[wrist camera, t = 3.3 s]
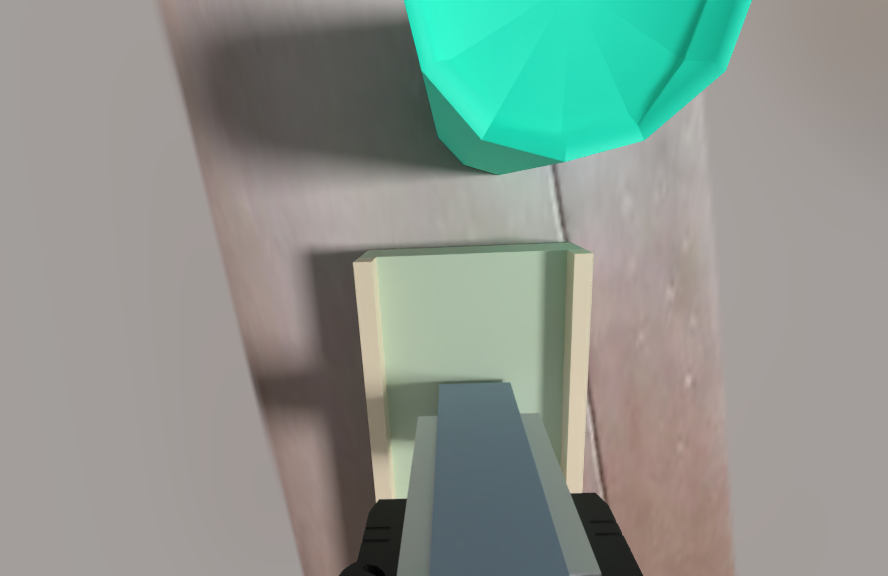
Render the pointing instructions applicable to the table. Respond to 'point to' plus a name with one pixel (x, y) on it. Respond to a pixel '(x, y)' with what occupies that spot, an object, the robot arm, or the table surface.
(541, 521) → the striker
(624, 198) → the table surface
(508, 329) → the pitch
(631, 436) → the table surface
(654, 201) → the table surface
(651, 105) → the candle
